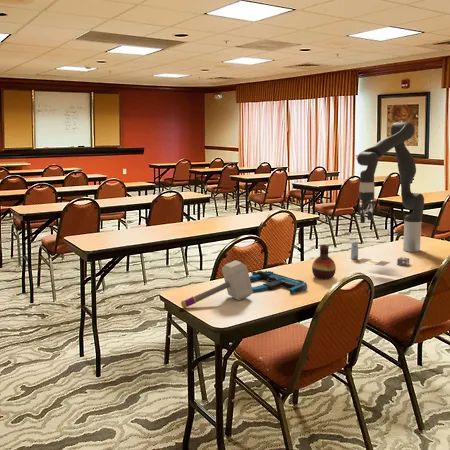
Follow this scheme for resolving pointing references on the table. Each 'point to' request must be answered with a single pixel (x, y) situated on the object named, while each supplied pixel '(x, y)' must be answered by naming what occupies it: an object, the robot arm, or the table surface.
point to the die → (403, 261)
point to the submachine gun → (277, 282)
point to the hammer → (228, 284)
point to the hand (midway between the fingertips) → (366, 221)
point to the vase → (323, 265)
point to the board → (375, 262)
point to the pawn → (354, 251)
